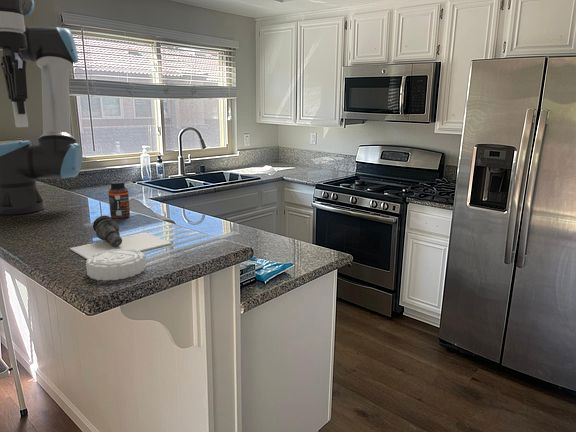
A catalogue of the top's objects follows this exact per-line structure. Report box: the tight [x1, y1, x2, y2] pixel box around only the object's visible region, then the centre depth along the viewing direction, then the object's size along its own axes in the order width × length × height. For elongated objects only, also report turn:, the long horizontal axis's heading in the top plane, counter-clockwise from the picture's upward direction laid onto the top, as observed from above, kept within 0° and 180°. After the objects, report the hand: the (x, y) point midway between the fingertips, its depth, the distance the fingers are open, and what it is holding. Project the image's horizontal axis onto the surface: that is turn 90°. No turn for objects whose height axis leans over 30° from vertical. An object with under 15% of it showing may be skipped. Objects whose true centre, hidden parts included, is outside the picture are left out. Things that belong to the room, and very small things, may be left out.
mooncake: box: [85, 249, 147, 281], centre depth 96 cm, size 12×12×4 cm
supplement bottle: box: [108, 180, 131, 219], centre depth 142 cm, size 6×6×11 cm
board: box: [69, 231, 172, 260], centre depth 112 cm, size 14×20×1 cm
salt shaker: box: [92, 215, 122, 247], centre depth 113 cm, size 6×6×12 cm
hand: (22, 126), depth 118 cm, fingers closed
